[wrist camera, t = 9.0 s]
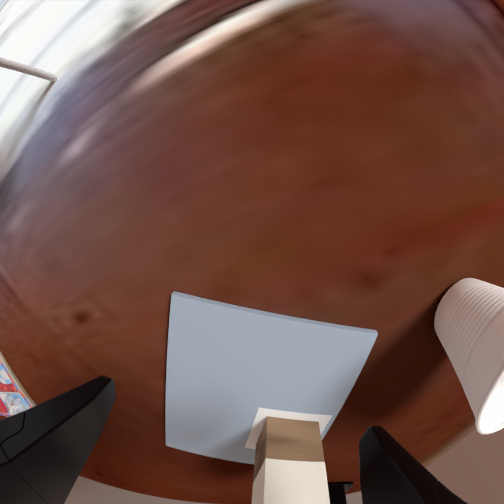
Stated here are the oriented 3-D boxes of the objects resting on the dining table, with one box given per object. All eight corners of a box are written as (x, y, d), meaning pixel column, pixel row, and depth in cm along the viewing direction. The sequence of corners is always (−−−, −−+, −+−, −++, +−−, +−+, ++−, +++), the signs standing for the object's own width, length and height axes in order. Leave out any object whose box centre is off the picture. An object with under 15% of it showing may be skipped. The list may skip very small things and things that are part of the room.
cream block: (305, 486, 19) (307, 527, 14) (253, 482, 19) (249, 525, 14) (324, 462, 18) (330, 509, 13) (265, 458, 18) (263, 508, 13)
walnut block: (302, 449, 24) (305, 486, 19) (255, 444, 24) (252, 482, 19) (318, 421, 23) (324, 462, 18) (267, 416, 23) (265, 458, 18)
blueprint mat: (302, 464, 26) (302, 468, 25) (167, 441, 26) (165, 445, 25) (375, 330, 20) (378, 334, 20) (174, 291, 21) (171, 294, 20)
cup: (436, 371, 21) (485, 448, 11) (394, 312, 20) (463, 404, 9) (503, 304, 19) (569, 357, 9) (475, 231, 18) (571, 272, 7)
